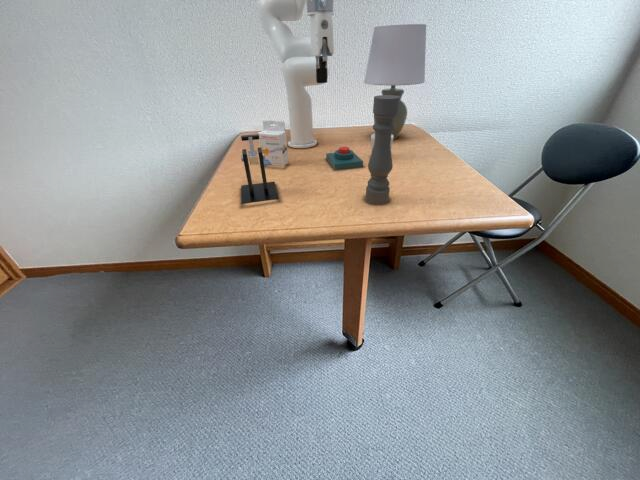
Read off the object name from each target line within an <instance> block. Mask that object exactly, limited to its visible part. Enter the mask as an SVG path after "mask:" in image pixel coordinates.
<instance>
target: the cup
mask: <svg viewBox="0 0 640 480" xmlns="http://www.w3.org/2000/svg"><path fill="white" fill-rule="evenodd" d="M393 138H394V136H393V135H391V144H390V146H391V148H393V142H394V139H393ZM374 141H375V133H372V134H371V135H370V149H371V150H370V152H371V153H372V150H373V147H374ZM371 153H370V154H371Z"/></svg>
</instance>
